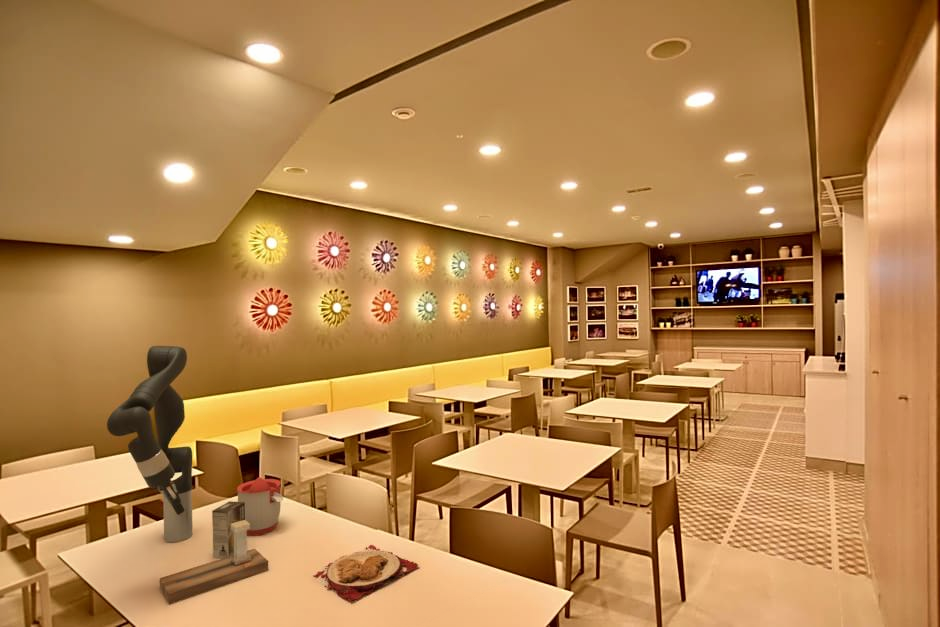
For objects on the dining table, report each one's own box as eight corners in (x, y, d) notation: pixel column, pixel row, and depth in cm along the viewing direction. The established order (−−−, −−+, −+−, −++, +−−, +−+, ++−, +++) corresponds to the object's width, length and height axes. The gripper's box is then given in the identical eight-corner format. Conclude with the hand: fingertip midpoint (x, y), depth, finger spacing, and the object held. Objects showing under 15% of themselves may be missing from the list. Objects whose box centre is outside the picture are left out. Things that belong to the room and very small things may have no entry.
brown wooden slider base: (159, 588, 153) (159, 577, 153) (254, 557, 172) (254, 547, 172) (169, 604, 144) (168, 592, 144) (268, 570, 163) (268, 559, 163)
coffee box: (230, 545, 181) (229, 500, 181) (246, 547, 180) (245, 501, 180) (212, 557, 172) (211, 510, 172) (228, 559, 171) (228, 511, 171)
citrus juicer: (267, 541, 184) (266, 486, 184) (227, 535, 189) (227, 482, 189) (293, 524, 199) (293, 473, 199) (256, 519, 204) (255, 469, 204)
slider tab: (229, 559, 163) (229, 523, 163) (246, 554, 167) (245, 519, 167) (235, 565, 160) (234, 528, 160) (251, 560, 163) (250, 523, 163)
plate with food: (419, 570, 163) (419, 559, 163) (351, 604, 143) (351, 592, 143) (371, 549, 179) (371, 539, 180) (303, 577, 159) (303, 565, 160)
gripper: (174, 466, 149) (199, 511, 155) (162, 454, 159) (186, 497, 165) (147, 481, 145) (174, 528, 151) (136, 468, 154) (162, 512, 160)
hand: (180, 512), depth 158 cm, fingers closed
